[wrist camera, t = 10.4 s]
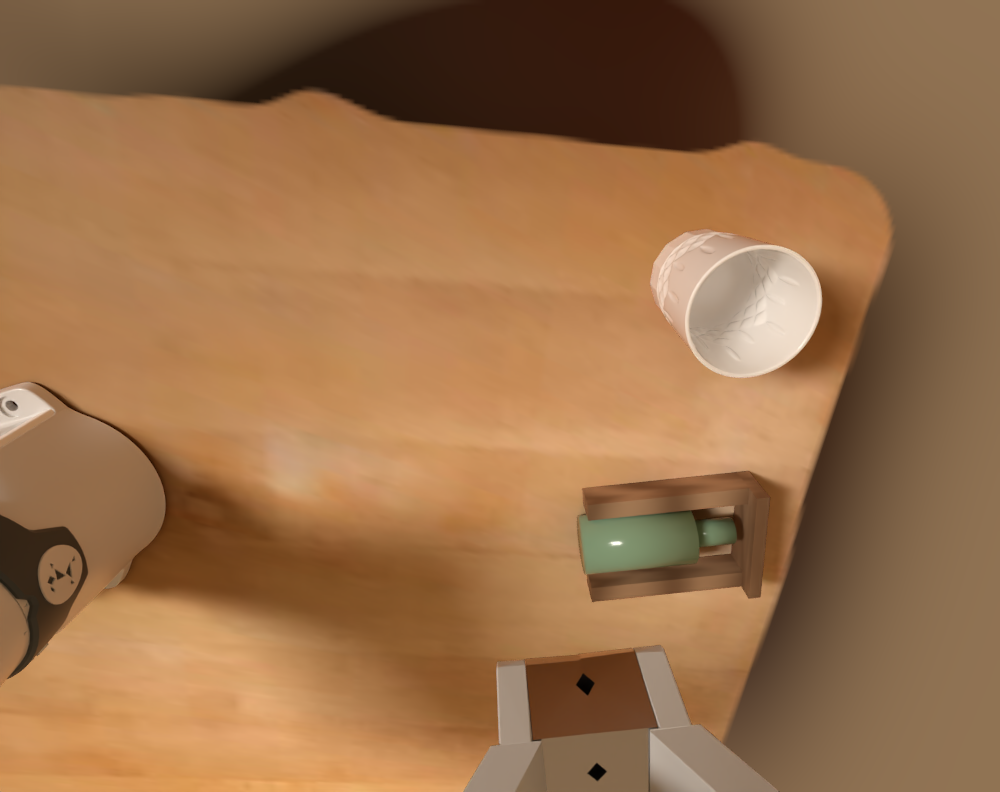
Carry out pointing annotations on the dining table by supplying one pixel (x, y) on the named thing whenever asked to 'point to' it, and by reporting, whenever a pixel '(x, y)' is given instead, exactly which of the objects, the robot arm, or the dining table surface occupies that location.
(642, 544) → the bottle
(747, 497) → the cradle
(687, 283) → the white cup
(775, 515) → the dining table surface
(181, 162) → the dining table surface
